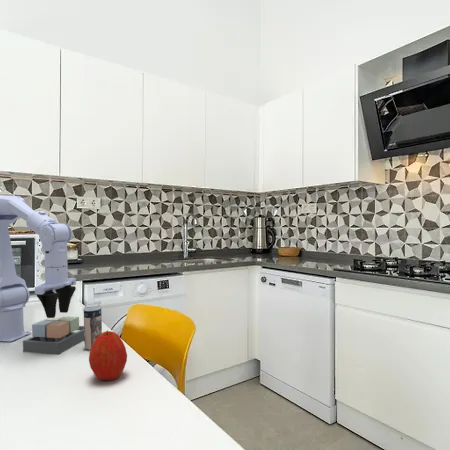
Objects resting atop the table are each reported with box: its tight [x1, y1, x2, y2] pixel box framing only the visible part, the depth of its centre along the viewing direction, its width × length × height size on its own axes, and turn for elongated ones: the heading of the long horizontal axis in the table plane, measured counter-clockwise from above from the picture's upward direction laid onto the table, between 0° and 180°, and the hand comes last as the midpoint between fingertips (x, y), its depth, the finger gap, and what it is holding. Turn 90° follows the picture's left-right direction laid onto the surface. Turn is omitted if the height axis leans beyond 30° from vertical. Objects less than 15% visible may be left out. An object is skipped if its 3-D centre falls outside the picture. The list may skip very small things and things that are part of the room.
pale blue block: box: [31, 319, 54, 337], centre depth 99 cm, size 4×4×3 cm
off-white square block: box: [43, 315, 66, 322], centre depth 103 cm, size 4×4×3 cm
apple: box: [88, 330, 128, 381], centre depth 79 cm, size 8×8×11 cm
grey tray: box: [22, 325, 84, 355], centre depth 102 cm, size 11×15×3 cm
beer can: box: [83, 303, 103, 351], centre depth 98 cm, size 5×5×12 cm
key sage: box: [58, 316, 80, 333], centre depth 102 cm, size 4×4×3 cm
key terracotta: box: [47, 321, 69, 338], centre depth 98 cm, size 4×4×3 cm
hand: (57, 314), depth 98 cm, fingers open, 5 cm apart
